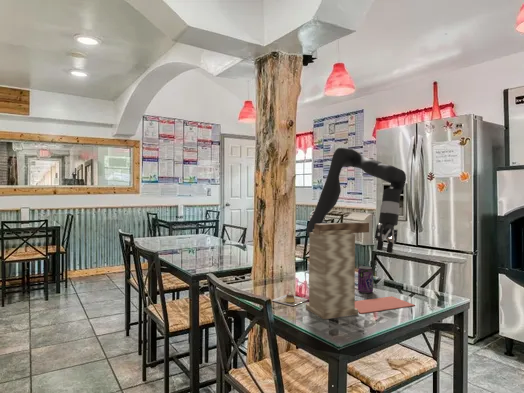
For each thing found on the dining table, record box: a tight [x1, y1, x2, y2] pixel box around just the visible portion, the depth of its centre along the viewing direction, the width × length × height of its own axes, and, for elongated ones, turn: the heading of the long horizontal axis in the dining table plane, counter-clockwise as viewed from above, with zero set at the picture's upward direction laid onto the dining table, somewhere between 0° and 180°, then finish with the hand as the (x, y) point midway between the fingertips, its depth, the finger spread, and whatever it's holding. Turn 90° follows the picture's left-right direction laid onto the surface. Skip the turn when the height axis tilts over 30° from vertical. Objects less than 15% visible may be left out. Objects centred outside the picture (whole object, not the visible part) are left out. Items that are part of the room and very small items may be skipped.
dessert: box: [271, 291, 309, 307], centre depth 163 cm, size 12×12×5 cm
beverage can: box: [357, 265, 374, 294], centre depth 179 cm, size 7×7×12 cm
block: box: [314, 221, 370, 235], centre depth 151 cm, size 24×4×4 cm, turn 112°
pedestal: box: [305, 230, 359, 320], centre depth 149 cm, size 16×14×34 cm
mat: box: [355, 295, 416, 315], centre depth 158 cm, size 28×14×1 cm, turn 112°
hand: (384, 251), depth 151 cm, fingers open, 8 cm apart
